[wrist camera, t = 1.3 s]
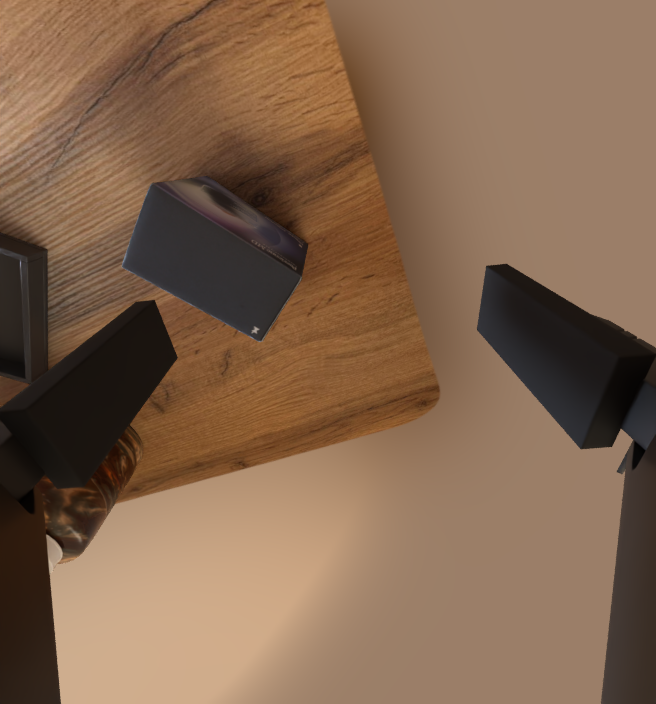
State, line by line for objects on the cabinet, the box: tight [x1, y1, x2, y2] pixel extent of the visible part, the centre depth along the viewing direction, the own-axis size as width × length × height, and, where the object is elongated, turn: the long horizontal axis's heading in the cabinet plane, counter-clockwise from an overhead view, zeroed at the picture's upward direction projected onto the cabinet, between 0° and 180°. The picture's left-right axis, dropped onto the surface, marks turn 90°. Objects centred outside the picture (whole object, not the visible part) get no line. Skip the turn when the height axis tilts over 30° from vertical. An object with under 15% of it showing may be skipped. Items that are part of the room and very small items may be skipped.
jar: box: [35, 426, 143, 574], centre depth 37 cm, size 12×12×15 cm
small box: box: [122, 176, 308, 342], centre depth 26 cm, size 11×6×10 cm, turn 57°
